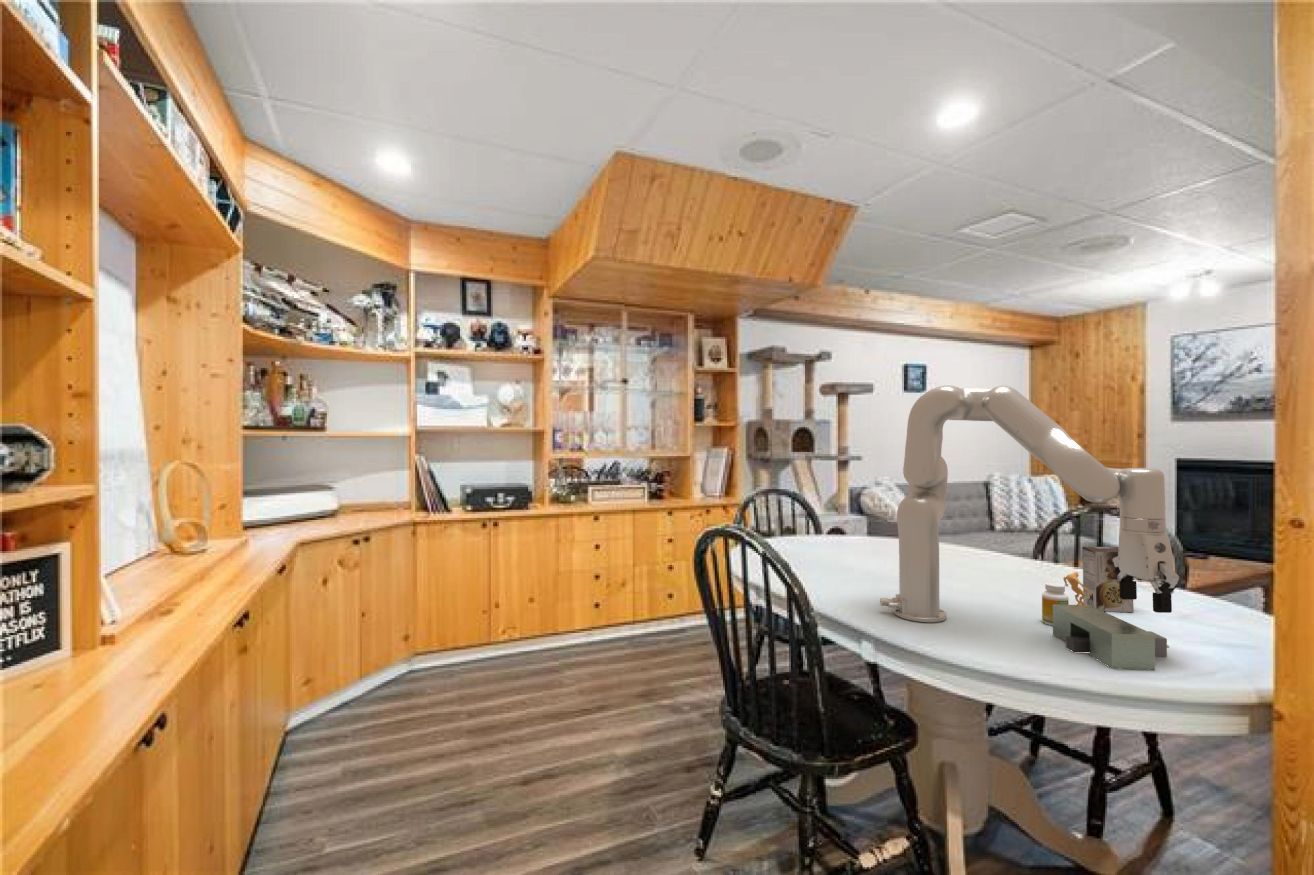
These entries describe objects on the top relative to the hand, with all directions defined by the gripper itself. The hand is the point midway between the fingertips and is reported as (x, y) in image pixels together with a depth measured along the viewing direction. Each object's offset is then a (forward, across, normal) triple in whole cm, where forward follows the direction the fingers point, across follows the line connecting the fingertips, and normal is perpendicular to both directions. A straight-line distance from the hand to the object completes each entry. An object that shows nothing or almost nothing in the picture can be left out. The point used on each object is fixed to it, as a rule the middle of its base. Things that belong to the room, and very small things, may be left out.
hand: (1144, 605), depth 123 cm
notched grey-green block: (+10, 0, +9) cm, 13 cm away
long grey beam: (+10, 0, +6) cm, 12 cm away
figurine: (+10, +22, 0) cm, 24 cm away
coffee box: (+10, +32, -13) cm, 36 cm away
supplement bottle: (+10, +18, +8) cm, 22 cm away
